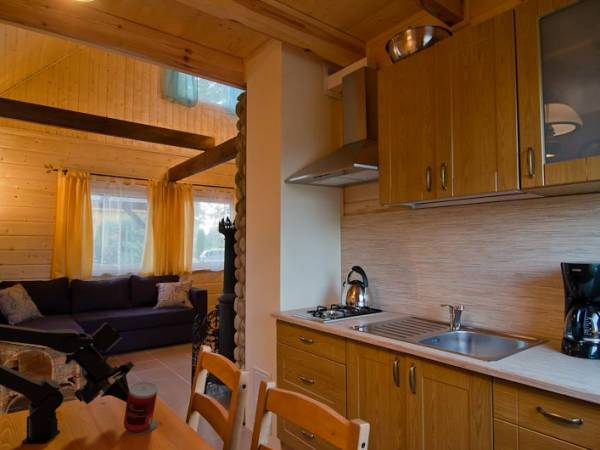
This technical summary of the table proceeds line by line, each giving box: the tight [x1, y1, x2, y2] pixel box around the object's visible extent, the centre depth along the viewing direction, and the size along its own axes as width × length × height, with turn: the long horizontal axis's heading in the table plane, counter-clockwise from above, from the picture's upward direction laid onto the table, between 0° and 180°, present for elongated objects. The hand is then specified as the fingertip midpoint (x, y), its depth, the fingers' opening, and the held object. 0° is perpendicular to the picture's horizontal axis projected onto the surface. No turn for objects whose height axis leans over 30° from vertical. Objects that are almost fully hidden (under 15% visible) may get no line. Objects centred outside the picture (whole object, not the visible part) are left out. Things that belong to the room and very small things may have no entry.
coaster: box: [128, 420, 158, 435], centre depth 110 cm, size 8×8×1 cm
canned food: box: [123, 381, 158, 433], centre depth 109 cm, size 8×8×11 cm
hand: (130, 401), depth 111 cm, fingers closed
